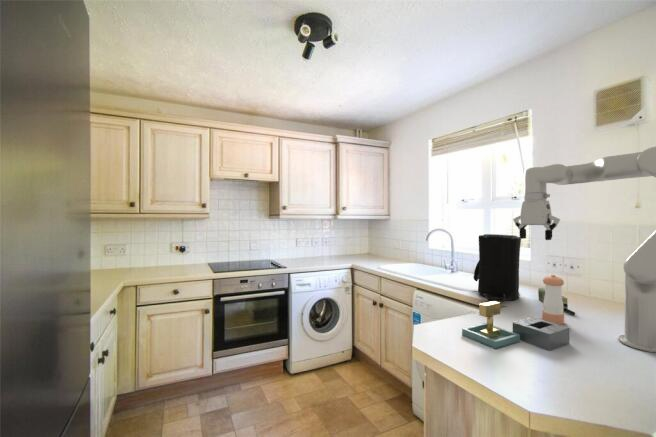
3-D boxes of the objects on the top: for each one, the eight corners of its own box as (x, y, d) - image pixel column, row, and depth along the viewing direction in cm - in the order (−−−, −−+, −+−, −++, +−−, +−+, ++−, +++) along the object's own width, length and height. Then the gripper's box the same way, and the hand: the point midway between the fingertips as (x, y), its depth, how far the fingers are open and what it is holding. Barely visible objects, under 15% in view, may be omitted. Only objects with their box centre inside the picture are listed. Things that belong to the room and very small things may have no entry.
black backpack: (514, 290, 175) (514, 233, 175) (536, 306, 144) (537, 236, 144) (472, 288, 181) (472, 232, 181) (484, 303, 150) (485, 236, 150)
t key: (485, 340, 104) (485, 305, 103) (479, 337, 106) (479, 303, 106) (500, 336, 107) (500, 302, 107) (493, 333, 109) (493, 300, 109)
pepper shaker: (568, 324, 120) (568, 277, 120) (547, 323, 121) (547, 276, 121) (558, 318, 127) (558, 273, 127) (538, 317, 129) (539, 273, 128)
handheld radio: (544, 300, 155) (578, 316, 130) (537, 300, 156) (570, 316, 131) (543, 287, 155) (577, 301, 130) (537, 287, 156) (569, 301, 131)
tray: (519, 341, 104) (519, 334, 104) (495, 349, 98) (495, 341, 98) (485, 329, 115) (485, 322, 115) (462, 335, 109) (462, 328, 109)
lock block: (569, 343, 102) (569, 327, 102) (549, 350, 97) (549, 334, 97) (532, 331, 113) (532, 317, 113) (512, 337, 107) (512, 322, 107)
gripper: (564, 196, 117) (564, 240, 117) (519, 199, 133) (519, 237, 133) (554, 196, 114) (554, 241, 114) (508, 198, 129) (508, 238, 129)
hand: (535, 239), depth 123 cm, fingers open, 9 cm apart
